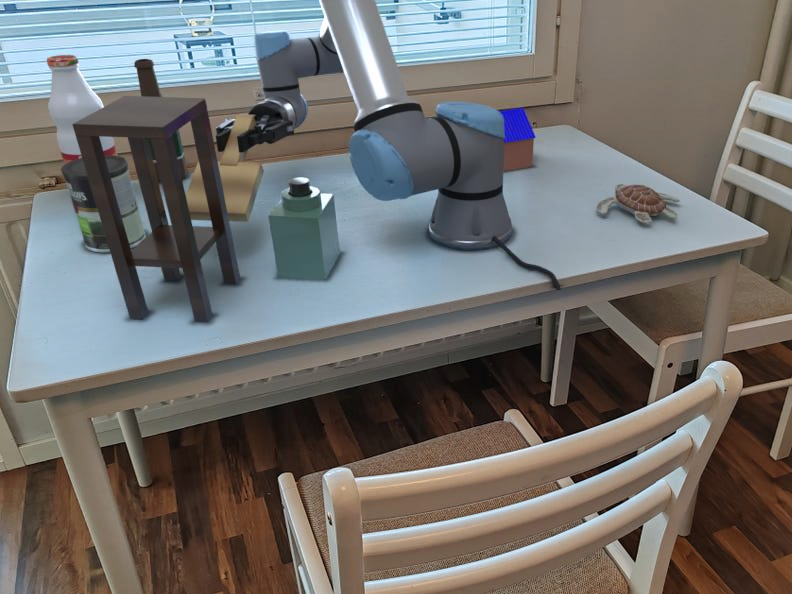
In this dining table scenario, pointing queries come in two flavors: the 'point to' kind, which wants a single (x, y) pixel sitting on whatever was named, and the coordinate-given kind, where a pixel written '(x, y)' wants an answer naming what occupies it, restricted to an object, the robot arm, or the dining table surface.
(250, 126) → the cutting board
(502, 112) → the house
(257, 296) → the dining table surface
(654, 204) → the decorative turtle
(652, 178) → the dining table surface
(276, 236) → the soap bottle
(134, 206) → the coffee can
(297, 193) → the black bottle cap
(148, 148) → the plant stand
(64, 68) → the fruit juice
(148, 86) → the beer bottle
